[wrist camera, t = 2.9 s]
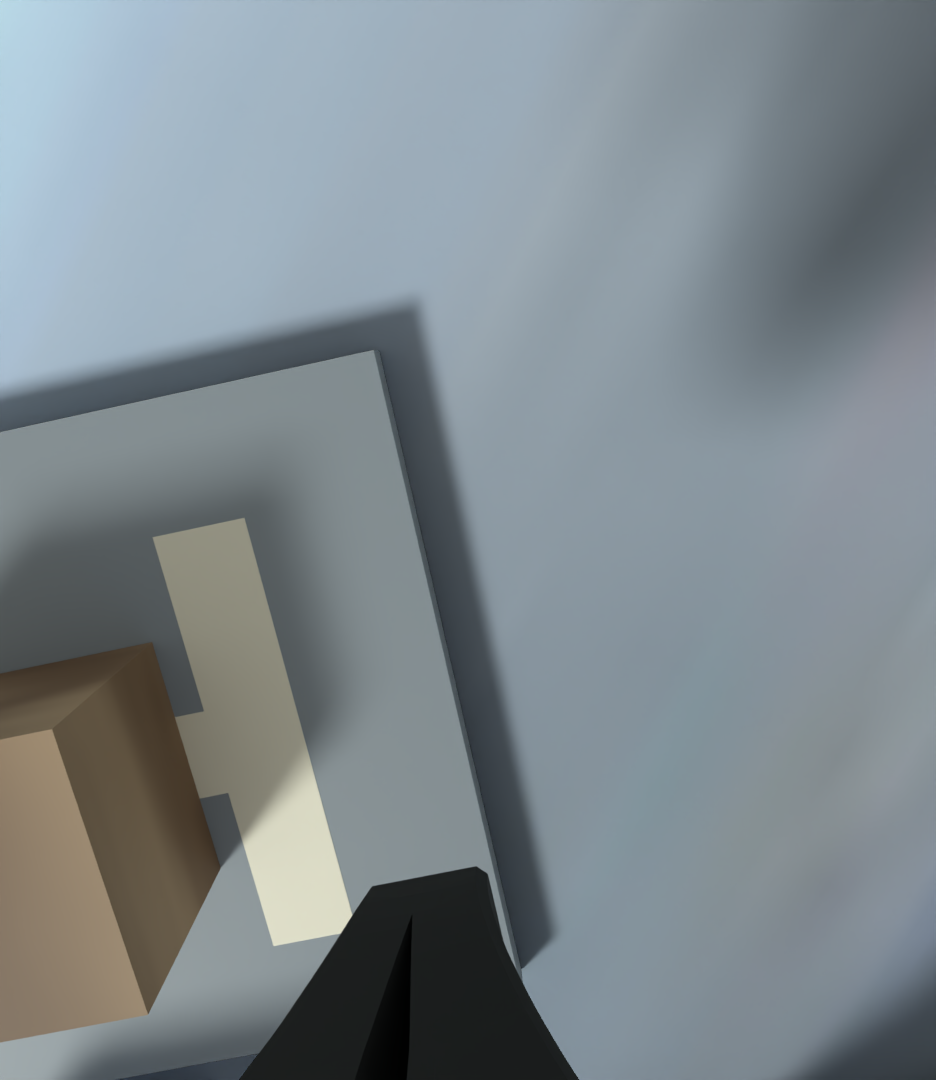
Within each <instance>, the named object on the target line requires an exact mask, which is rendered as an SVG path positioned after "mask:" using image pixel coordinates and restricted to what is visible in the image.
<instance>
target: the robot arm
mask: <svg viewBox="0 0 936 1080" xmlns="http://www.w3.org/2000/svg"><path fill="white" fill-rule="evenodd" d="M239 1080H579V1079H578V1077H577V1076H576V1074H575V1073H574V1071H573V1070H572V1068H571V1067H570V1065H569V1063H568V1062H567V1060H566V1059H565V1057H564V1055H563V1054H562V1052H561V1051H560V1049H559V1047H558V1046H557V1044H556V1042H555V1041H554V1039H553V1037H552V1036H551V1034H550V1032H549V1030H548V1029H547V1027H546V1025H545V1024H544V1022H543V1020H542V1019H541V1017H540V1015H539V1013H538V1011H537V1009H536V1008H535V1006H534V1004H533V1002H532V1000H531V998H530V997H529V995H528V993H527V991H526V989H525V987H524V985H523V982H522V980H521V978H520V976H519V974H518V972H517V970H516V968H515V966H514V964H513V962H512V960H511V958H510V956H509V953H508V951H507V949H506V946H505V944H504V941H503V937H502V933H501V928H500V924H499V920H498V915H497V911H496V907H495V902H494V898H493V894H492V890H491V885H490V881H489V877H488V874H487V873H486V872H484V871H483V870H481V869H480V868H478V867H477V866H475V867H469V868H464V869H459V870H454V871H449V872H443V873H438V874H433V875H428V876H423V877H417V878H412V879H407V880H402V881H397V882H391V883H386V884H381V885H376V886H372V887H371V888H370V890H369V891H368V893H367V894H366V896H365V897H364V899H363V900H362V901H361V903H360V904H359V906H358V907H357V909H356V910H355V912H354V913H353V915H352V917H351V918H350V920H349V921H348V923H347V924H346V926H345V928H344V929H343V931H342V932H341V934H340V935H339V937H338V938H337V940H336V942H335V943H334V945H333V946H332V948H331V949H330V951H329V952H328V954H327V956H326V957H325V959H324V960H323V962H322V963H321V965H320V966H319V968H318V969H317V971H316V972H315V974H314V975H313V977H312V978H311V980H310V981H309V983H308V984H307V986H306V987H305V989H304V990H303V992H302V993H301V995H300V996H299V997H298V999H297V1000H296V1002H295V1003H294V1005H293V1006H292V1008H291V1009H290V1011H289V1012H288V1014H287V1015H286V1017H285V1018H284V1019H283V1021H282V1022H281V1024H280V1025H279V1027H278V1028H277V1030H276V1031H275V1032H274V1034H273V1035H272V1037H271V1038H270V1039H269V1041H268V1042H267V1043H266V1045H265V1046H264V1047H263V1049H262V1050H261V1051H260V1053H259V1054H258V1055H257V1057H256V1058H255V1059H254V1061H253V1062H252V1063H251V1065H250V1066H249V1067H248V1069H247V1070H246V1071H245V1073H244V1074H243V1075H242V1077H241V1078H240V1079H239Z"/></svg>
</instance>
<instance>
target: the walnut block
mask: <svg viewBox="0 0 936 1080" xmlns="http://www.w3.org/2000/svg"><path fill="white" fill-rule="evenodd" d="M220 869H221V867H220V864H219V861H218V857H217V854H216V851H215V848H214V844H213V841H212V838H211V834H210V831H209V828H208V825H207V821H206V818H205V815H204V811H203V808H202V805H201V801H200V798H199V795H198V792H197V788H196V785H195V782H194V778H193V775H192V772H191V769H190V765H189V762H188V759H187V755H186V752H185V749H184V746H183V742H182V739H181V736H180V732H179V729H178V726H177V723H176V719H175V716H174V713H173V709H172V706H171V703H170V699H169V696H168V693H167V690H166V686H165V683H164V680H163V676H162V673H161V670H160V667H159V663H158V660H157V657H156V653H155V650H154V647H153V644H152V642H150V643H145V644H140V645H136V646H131V647H126V648H121V649H116V650H111V651H107V652H102V653H97V654H92V655H87V656H83V657H78V658H73V659H68V660H63V661H58V662H54V663H49V664H44V665H39V666H34V667H29V668H25V669H20V670H15V671H10V672H5V673H0V1043H1V1042H6V1041H12V1040H17V1039H22V1038H28V1037H33V1036H38V1035H44V1034H49V1033H54V1032H60V1031H65V1030H70V1029H76V1028H81V1027H86V1026H92V1025H97V1024H102V1023H108V1022H113V1021H118V1020H124V1019H129V1018H134V1017H140V1016H145V1015H148V1014H149V1012H150V1010H151V1008H152V1006H153V1004H154V1002H155V1000H156V998H157V996H158V994H159V992H160V990H161V988H162V986H163V984H164V982H165V980H166V978H167V976H168V974H169V972H170V970H171V968H172V966H173V964H174V962H175V960H176V958H177V956H178V953H179V951H180V949H181V947H182V945H183V943H184V941H185V939H186V937H187V935H188V933H189V931H190V929H191V927H192V925H193V923H194V921H195V919H196V917H197V915H198V913H199V911H200V909H201V907H202V905H203V903H204V901H205V899H206V897H207V895H208V893H209V891H210V889H211V887H212V885H213V883H214V881H215V879H216V877H217V875H218V873H219V871H220Z"/></svg>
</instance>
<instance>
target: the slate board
mask: <svg viewBox="0 0 936 1080" xmlns="http://www.w3.org/2000/svg"><path fill="white" fill-rule="evenodd" d="M150 642H152V644H153V647H154V650H155V653H156V657H157V660H158V663H159V667H160V670H161V673H162V676H163V680H164V683H165V686H166V690H167V693H168V696H169V699H170V703H171V706H172V709H173V713H174V716H175V719H176V723H177V726H178V729H179V732H180V736H181V739H182V742H183V746H184V749H185V752H186V755H187V759H188V762H189V765H190V769H191V772H192V775H193V778H194V782H195V785H196V788H197V792H198V795H199V798H200V801H201V805H202V808H203V811H204V815H205V818H206V821H207V825H208V828H209V831H210V834H211V838H212V841H213V844H214V848H215V851H216V854H217V857H218V861H219V864H220V867H221V869H220V871H219V873H218V875H217V877H216V879H215V881H214V883H213V885H212V887H211V889H210V891H209V893H208V895H207V897H206V899H205V901H204V903H203V905H202V907H201V909H200V911H199V913H198V915H197V917H196V919H195V921H194V923H193V925H192V927H191V929H190V931H189V933H188V935H187V937H186V939H185V941H184V943H183V945H182V947H181V949H180V951H179V953H178V956H177V958H176V960H175V962H174V964H173V966H172V968H171V970H170V972H169V974H168V976H167V978H166V980H165V982H164V984H163V986H162V988H161V990H160V992H159V994H158V996H157V998H156V1000H155V1002H154V1004H153V1006H152V1008H151V1010H150V1012H149V1014H148V1015H145V1016H140V1017H134V1018H129V1019H124V1020H118V1021H113V1022H108V1023H102V1024H97V1025H92V1026H86V1027H81V1028H76V1029H70V1030H65V1031H60V1032H54V1033H49V1034H44V1035H38V1036H33V1037H28V1038H22V1039H17V1040H12V1041H6V1042H1V1043H0V1080H117V1079H122V1078H128V1077H133V1076H139V1075H144V1074H149V1073H155V1072H160V1071H166V1070H171V1069H177V1068H182V1067H187V1066H193V1065H198V1064H204V1063H209V1062H215V1061H220V1060H225V1059H231V1058H236V1057H242V1056H247V1055H253V1054H258V1053H260V1051H261V1050H262V1049H263V1047H264V1046H265V1045H266V1043H267V1042H268V1041H269V1039H270V1038H271V1037H272V1035H273V1034H274V1032H275V1031H276V1030H277V1028H278V1027H279V1025H280V1024H281V1022H282V1021H283V1019H284V1018H285V1017H286V1015H287V1014H288V1012H289V1011H290V1009H291V1008H292V1006H293V1005H294V1003H295V1002H296V1000H297V999H298V997H299V996H300V995H301V993H302V992H303V990H304V989H305V987H306V986H307V984H308V983H309V981H310V980H311V978H312V977H313V975H314V974H315V972H316V971H317V969H318V968H319V966H320V965H321V963H322V962H323V960H324V959H325V957H326V956H327V954H328V952H329V951H330V949H331V948H332V946H333V945H334V943H335V942H336V940H337V938H338V937H339V935H340V934H341V932H342V931H343V929H344V928H345V926H346V924H347V923H348V921H349V920H350V918H351V917H352V915H353V913H354V912H355V910H356V909H357V907H358V906H359V904H360V903H361V901H362V900H363V899H364V897H365V896H366V894H367V893H368V891H369V890H370V888H371V887H372V886H376V885H381V884H386V883H391V882H397V881H402V880H407V879H412V878H417V877H423V876H428V875H433V874H438V873H443V872H449V871H454V870H459V869H464V868H469V867H475V866H477V867H478V868H480V869H481V870H483V871H484V872H486V873H487V874H488V877H489V881H490V885H491V890H492V894H493V898H494V902H495V907H496V911H497V915H498V920H499V924H500V928H501V933H502V937H503V941H504V944H505V946H506V949H507V951H508V953H509V956H510V958H511V960H512V962H513V964H514V966H515V968H516V970H517V972H518V974H519V976H520V978H521V980H522V971H521V966H520V962H519V958H518V953H517V949H516V945H515V940H514V936H513V932H512V927H511V923H510V918H509V914H508V910H507V905H506V901H505V897H504V892H503V888H502V884H501V879H500V875H499V871H498V866H497V862H496V857H495V853H494V849H493V844H492V840H491V836H490V831H489V827H488V823H487V818H486V814H485V810H484V805H483V801H482V796H481V792H480V788H479V783H478V779H477V775H476V770H475V766H474V762H473V757H472V753H471V748H470V744H469V740H468V735H467V731H466V727H465V722H464V718H463V714H462V709H461V705H460V701H459V696H458V692H457V687H456V683H455V679H454V674H453V670H452V666H451V661H450V657H449V653H448V648H447V644H446V640H445V635H444V631H443V626H442V622H441V618H440V613H439V609H438V605H437V600H436V596H435V592H434V587H433V583H432V578H431V574H430V570H429V565H428V561H427V557H426V552H425V548H424V544H423V539H422V535H421V531H420V526H419V522H418V517H417V513H416V509H415V504H414V500H413V496H412V491H411V487H410V483H409V478H408V474H407V470H406V465H405V461H404V456H403V452H402V448H401V443H400V439H399V435H398V430H397V426H396V422H395V417H394V413H393V409H392V404H391V400H390V395H389V391H388V387H387V382H386V378H385V374H384V369H383V365H382V361H381V356H380V352H379V351H377V350H371V351H366V352H361V353H357V354H352V355H348V356H343V357H339V358H334V359H330V360H325V361H321V362H316V363H312V364H307V365H302V366H298V367H293V368H289V369H284V370H280V371H275V372H271V373H266V374H262V375H257V376H252V377H248V378H243V379H239V380H234V381H230V382H225V383H221V384H216V385H212V386H207V387H203V388H198V389H193V390H189V391H184V392H180V393H175V394H171V395H166V396H162V397H157V398H153V399H148V400H144V401H139V402H134V403H130V404H125V405H121V406H116V407H112V408H107V409H103V410H98V411H94V412H89V413H85V414H80V415H75V416H71V417H66V418H62V419H57V420H53V421H48V422H44V423H39V424H35V425H30V426H25V427H21V428H16V429H12V430H7V431H3V432H0V673H5V672H10V671H15V670H20V669H25V668H29V667H34V666H39V665H44V664H49V663H54V662H58V661H63V660H68V659H73V658H78V657H83V656H87V655H92V654H97V653H102V652H107V651H111V650H116V649H121V648H126V647H131V646H136V645H140V644H145V643H150ZM522 982H523V981H522Z"/></svg>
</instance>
